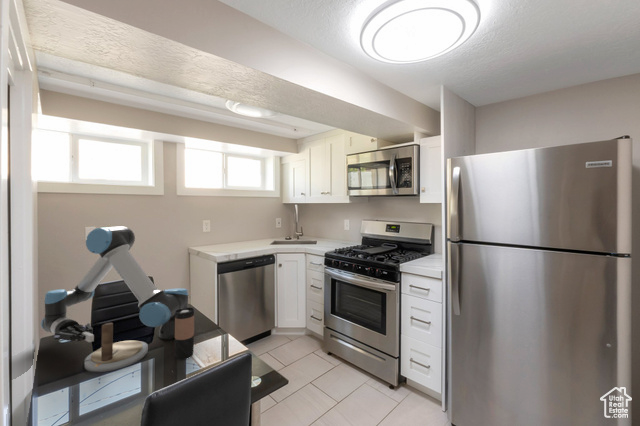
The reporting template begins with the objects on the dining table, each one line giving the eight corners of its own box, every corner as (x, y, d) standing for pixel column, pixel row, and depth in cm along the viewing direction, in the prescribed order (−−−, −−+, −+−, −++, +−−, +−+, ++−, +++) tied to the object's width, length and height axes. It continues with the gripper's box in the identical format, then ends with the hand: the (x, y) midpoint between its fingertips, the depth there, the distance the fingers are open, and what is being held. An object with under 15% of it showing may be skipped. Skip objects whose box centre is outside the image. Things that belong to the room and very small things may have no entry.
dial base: (156, 343, 131) (156, 339, 131) (132, 369, 109) (132, 364, 109) (105, 347, 127) (105, 342, 127) (70, 374, 106) (70, 368, 106)
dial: (108, 343, 126) (108, 311, 126) (150, 341, 128) (150, 309, 129) (79, 365, 108) (79, 327, 108) (128, 362, 110) (128, 325, 110)
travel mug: (186, 361, 115) (186, 314, 116) (170, 359, 117) (170, 312, 117) (197, 352, 123) (197, 308, 123) (182, 350, 124) (183, 306, 125)
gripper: (82, 330, 131) (109, 341, 121) (46, 341, 119) (72, 354, 109) (82, 314, 131) (109, 324, 121) (46, 324, 119) (72, 335, 109)
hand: (91, 338), depth 115 cm, fingers closed
